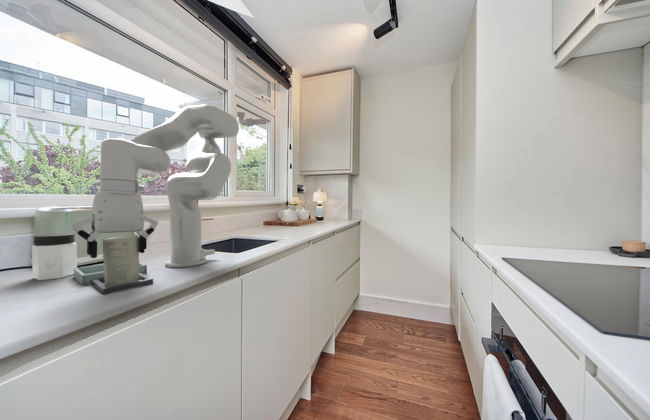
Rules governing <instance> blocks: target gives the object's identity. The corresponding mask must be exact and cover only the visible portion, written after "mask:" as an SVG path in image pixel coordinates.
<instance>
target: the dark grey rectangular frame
mask: <svg viewBox="0 0 650 420" xmlns="http://www.w3.org/2000/svg"><path fill="white" fill-rule="evenodd" d="M139 274H140V280H139V281H136V282H131V283H126V284H121V285H116V286H111V287H107V286H105V277H103V278H97V279H92V280H91V284H90V285H91V286H92V287H94V288H95V289H97V291H99V292H100V294H102V295H106V294H111V293H116V292H119V291H120V292H121V291H126V290H130V289H134V288H139V287H143V286H147V285H152V284H154V279H153V278H152V277H150V276H147V274H142V273H140V272H139Z"/></svg>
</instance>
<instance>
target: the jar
mask: <svg viewBox="0 0 650 420" xmlns="http://www.w3.org/2000/svg"><path fill="white" fill-rule="evenodd" d="M75 235H76V234H75V233H73V232H61V233H60V232H59V233H56V232H55V233H46V234H45V233H43V234H36V235H34V236H32V241H33V243H32V245H31V256H32V257H31V259H32V260H31V261H32V262H31V263H32V264H31V266H32V279H35V280H36V281H47V280H55V279H64V278H66V277H70V276H74V275H73V274H74V268H78V258H77V257H78V254H77V253H78V252H77V249H78V248H77V245H78V244H77V242H76V238H75V237H76V236H75Z"/></svg>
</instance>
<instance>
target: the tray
mask: <svg viewBox="0 0 650 420" xmlns="http://www.w3.org/2000/svg"><path fill="white" fill-rule="evenodd" d="M147 268H148V267H147V264H145V263H142V262H140V261H139V272H140V273H142V274H144V275H147V271H148V269H147ZM103 277H104V263H100V264H99V263H98V264H93V265H87V266H80V267H77V268H74V275H73V278H75V280H76V281H78V282H79V283H80V284H81V285H82V286H86V285H92V284H91V280H92V279H97V278H103Z"/></svg>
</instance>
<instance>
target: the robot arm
mask: <svg viewBox="0 0 650 420" xmlns="http://www.w3.org/2000/svg"><path fill="white" fill-rule="evenodd" d="M239 126H240V125H239V123H238V120H237V118H236V117H235V116H233V115H232V114H231V113H229V112H227V111H225V110H223V109H221V108H220V107H217V106H215V105H212V104H195V105H194V104H193V105H188V106H183V107H182V108H180V109H179V111H177V112H175V114H174V115H172V116H171V117H170V118H169V119H166V121H165V122H163V123H162V124H160V125H158V126H155V127H153V128H151V129H149V130H146V131H145V132H142V133H140V134H139V135H136V136H134V137H133V138H131V139H130V140H127V139H122V138H115V137H113V138H110V137H109V138H105V139H103V140H102V142H101V143H100V181H99V182H100V183H99V185H100V186H99V192H95V194H94V198H93V202H92V209H91V215H89V216H88V217H87V216H86V217H85V218H82V219H79V220H77V221H74V222H72V223H71V225H70V226H71V227H72V228H73V230H74V231H75V232H76V234H77V235H78V236H79V237H81V238H83V239H84V240H85V241H87V242H86V245H87V246H86V254H87V255H88V256H89V257H90V258H92V259H96V258H97V257H98V241H97V240H96V239H97V238H98V237H99V236H101V234H105V233H106V234H111V233H114V234H115V233H130V232H135V233H136V234H137V235H138V252H139V253H141V254H144V253H145V250H147V241H148V240H147V239H148V238H149V236H151V234H153V232H154V231H155V229H156V227H157V226H158V224H159V221H157V220H155V219H153V218H150V217H148V216H146V215H145V214H144V205H143V199H142V196H141V194H139V193H140V191H145V186H144V185H141V184H140V182H139V175H140V174H147V175H149V174H150V175H151V174H152V175H153V174H161V173H164V172H166V171H167V170H169V168H170V166H171V158H170V156H169V154H168V152H169V151H173V150H176V149H180V148H182V147H184V146H187V144H188V143H189V142H190V141H191V140H192V139H193V138H194V137H195V135H197V139H198V146H197V147H196V149H195V150H194V151H193V153H192V155H191V156H190V157H189V158H188V160H187V161H186V164H185V167H184V169H185V172H178V173H175V174H172V175H171V176H169V178H168V179H167V181H166V183H165V190H166V194H167V198H168V202H169V227H170V228H169V236H170V237H169V238H170V239H169V240H170V243H169V244H170V247H169V248H170V251H169V252H170V259H168V260H166V261H165V262H164V266H165V267H168V268H187V267H193V266H194V267H195V266H199V265H203V264H205V263H206V262H207V257H208V256H211V255H215V254H216V252H215V251H216V250H215V249H214V248H213V249H205V248H202V211H201V208H200V206H199V205H198V203H197V201H212V200H215V199H217V198H218V197H219V195H220V194H221V192H222V190H223V188H224V186H225V185H226V183H227V181H228V179H229V177H230V175H231V171H232V162H231V160H230V158H229V157H228V156H227V155H226V154H225V153H222V151H221V148H220V146H219V144H217V141H216V139H226V138H227V139H228V138H233V137H234V138H235V137H236V136H237V135H238V133H239V130H240V128H239ZM89 223H90V229H91V232H89V233H88V232H86V231H85V230H84V228H83V226H85V225H87V224H89ZM145 223H147V224H149V226H148V227H147V229H145V230H144V228H145Z"/></svg>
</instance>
